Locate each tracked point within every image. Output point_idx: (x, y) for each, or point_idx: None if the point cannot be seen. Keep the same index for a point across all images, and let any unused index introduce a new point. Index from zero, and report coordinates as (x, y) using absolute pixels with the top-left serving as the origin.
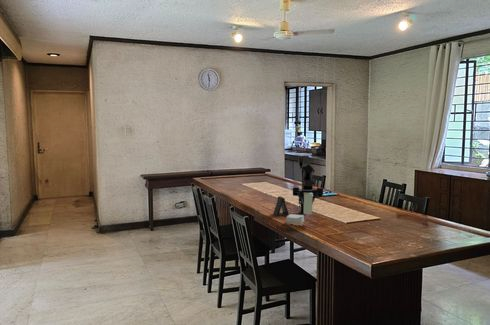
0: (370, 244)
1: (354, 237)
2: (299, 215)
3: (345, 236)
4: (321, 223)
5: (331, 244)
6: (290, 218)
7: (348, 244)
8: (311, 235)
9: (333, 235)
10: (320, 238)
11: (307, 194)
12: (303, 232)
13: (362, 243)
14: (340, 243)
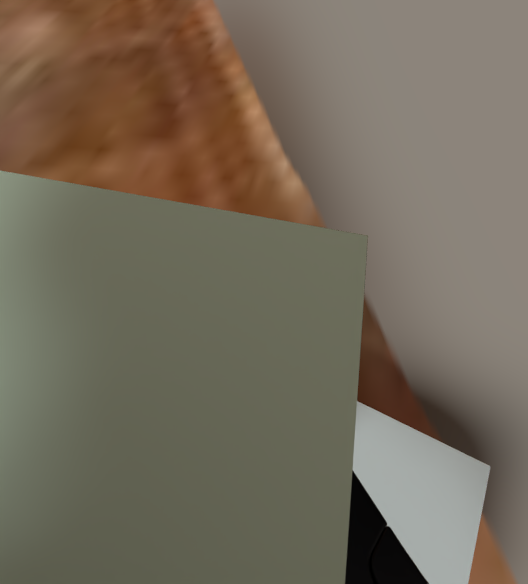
0: (10, 3)
1: (15, 88)
2: None
3: (59, 107)
4: None
5: (207, 20)
6: (430, 438)
7: (122, 13)
8: (271, 141)
9: (126, 129)
10: (232, 92)
11: (176, 221)
12: (311, 200)
13: (41, 16)
14: (155, 26)
